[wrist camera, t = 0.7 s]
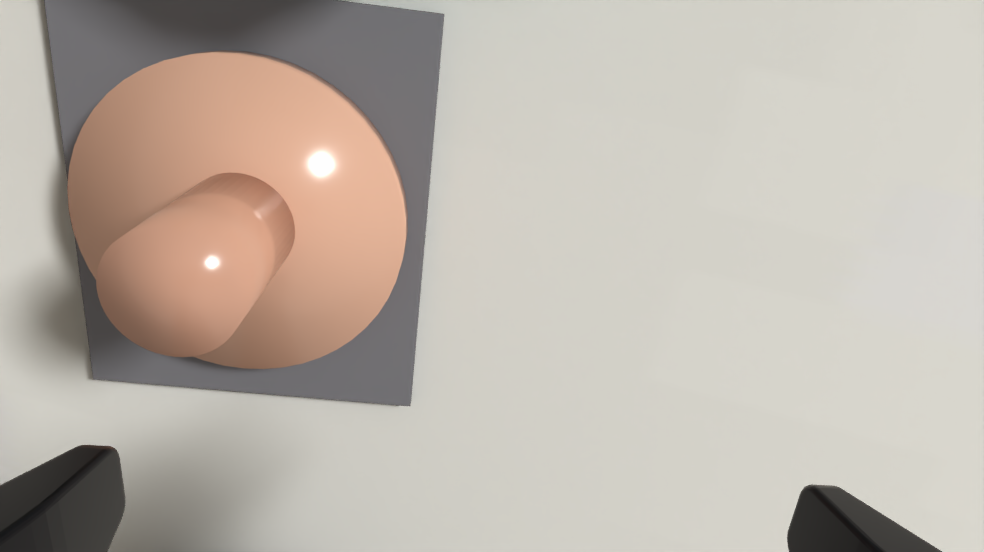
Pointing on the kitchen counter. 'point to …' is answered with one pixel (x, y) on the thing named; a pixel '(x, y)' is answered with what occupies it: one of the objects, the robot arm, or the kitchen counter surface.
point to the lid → (236, 210)
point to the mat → (332, 56)
